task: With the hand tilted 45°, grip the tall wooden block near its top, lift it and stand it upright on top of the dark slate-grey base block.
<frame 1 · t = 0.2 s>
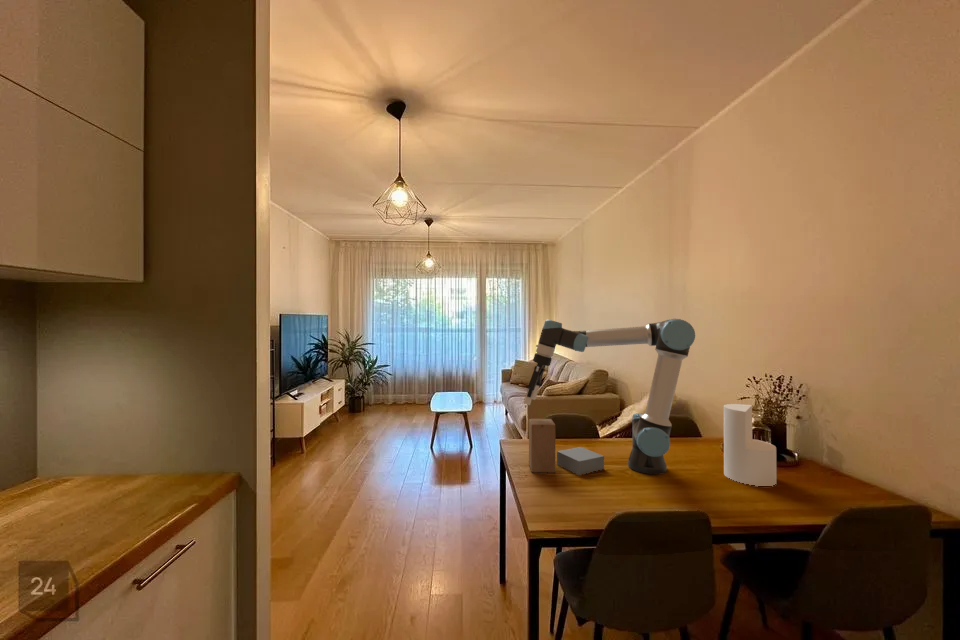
hand: (529, 401, 163), 28 cm above the table, tool tilted 15°, fingers open, 13 cm apart
slate base block: (580, 467, 162), on the table
wooden block: (541, 468, 160), on the table
white stepped column: (749, 478, 152), on the table
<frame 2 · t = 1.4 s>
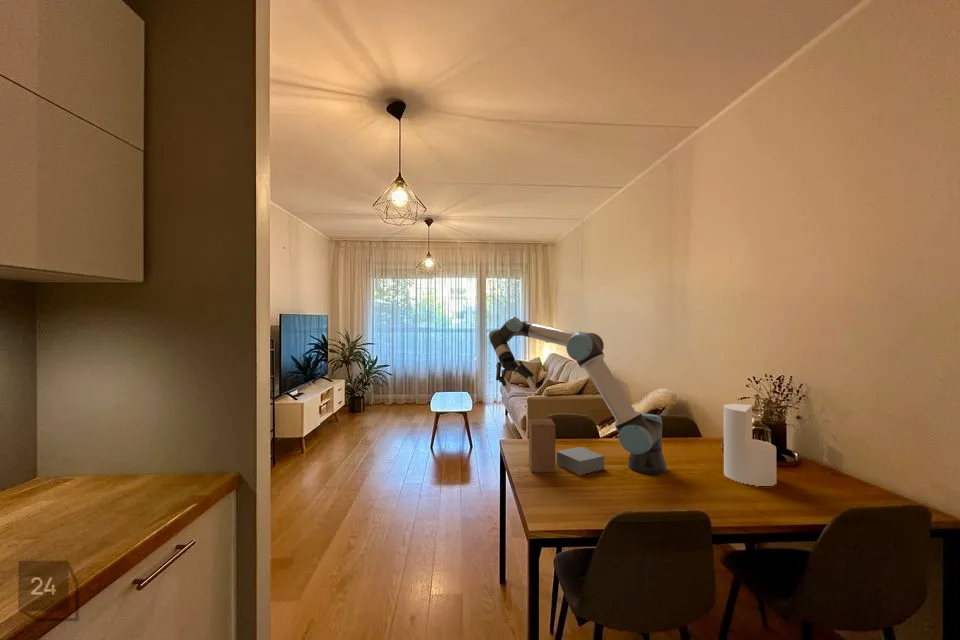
hand: (521, 390, 175), 31 cm above the table, tool tilted 45°, fingers open, 13 cm apart
nothing on the table moved.
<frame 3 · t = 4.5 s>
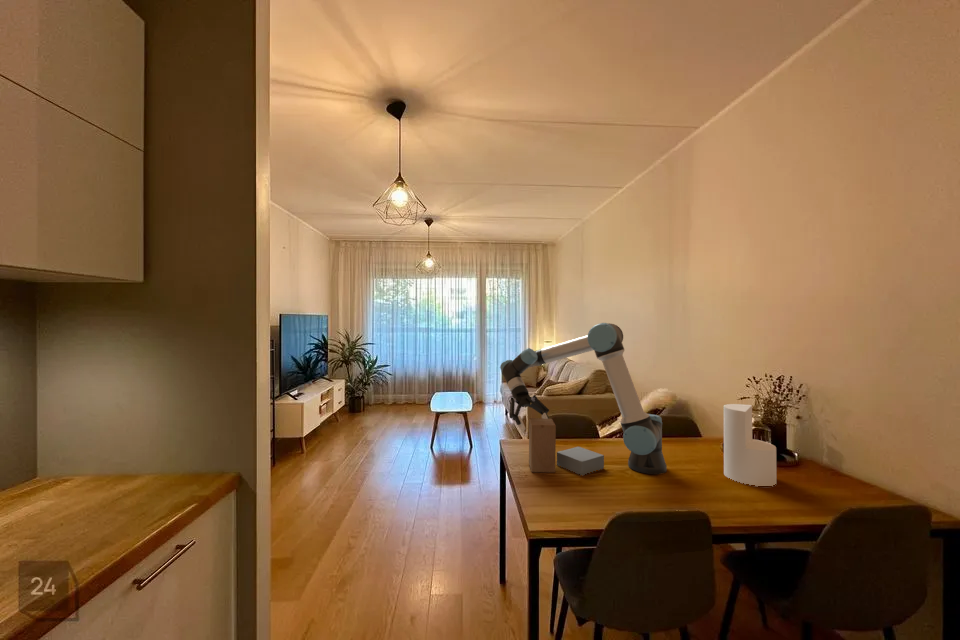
hand: (537, 429, 163), 16 cm above the table, tool tilted 45°, fingers open, 13 cm apart
wooden block: (541, 468, 160), on the table, touching gripper
everything else where it was.
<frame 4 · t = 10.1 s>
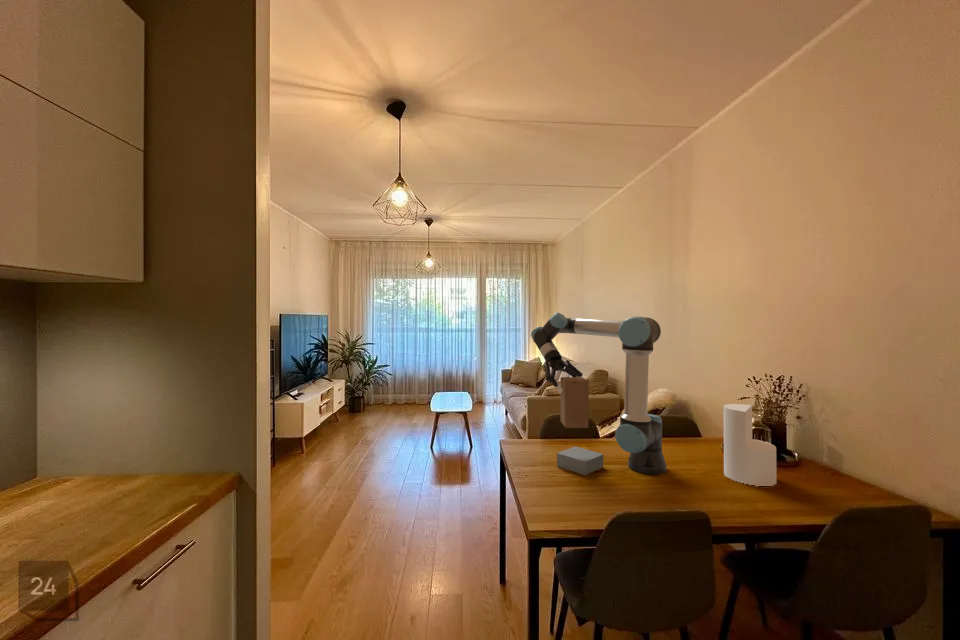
hand: (573, 391, 164), 33 cm above the table, tool tilted 45°, fingers closed on wooden block, 12 cm apart
wooden block: (574, 425, 163), point 18 cm above the table, touching gripper
when the fingers open (22 cm above the table, at t = 14.0 s): wooden block drops 2 cm, resting on slate base block.
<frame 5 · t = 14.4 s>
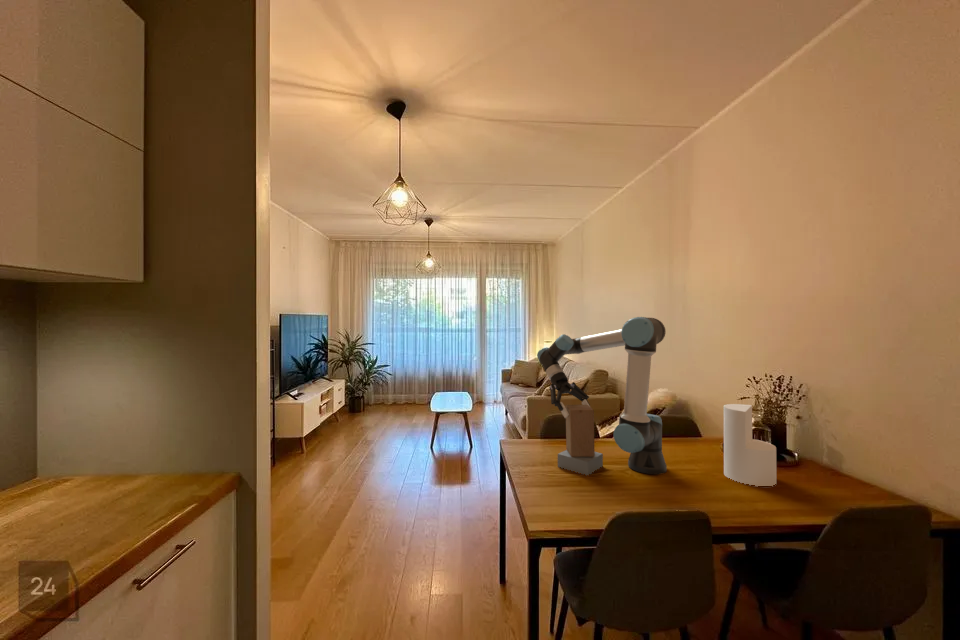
hand: (579, 414, 164), 22 cm above the table, tool tilted 45°, fingers open, 13 cm apart
slate base block: (580, 467, 163), on the table, touching wooden block
wooden block: (580, 453, 163), point 6 cm above the table, touching gripper, slate base block
everything else where it was.
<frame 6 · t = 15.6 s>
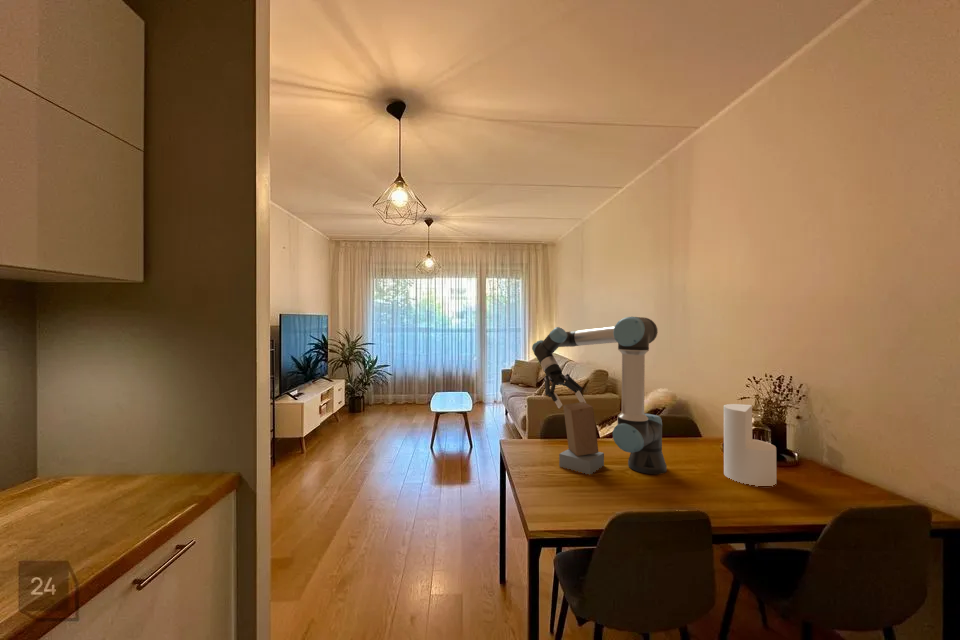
hand: (572, 405, 167), 26 cm above the table, tool tilted 45°, fingers open, 13 cm apart
wooden block: (583, 451, 164), point 6 cm above the table, touching slate base block
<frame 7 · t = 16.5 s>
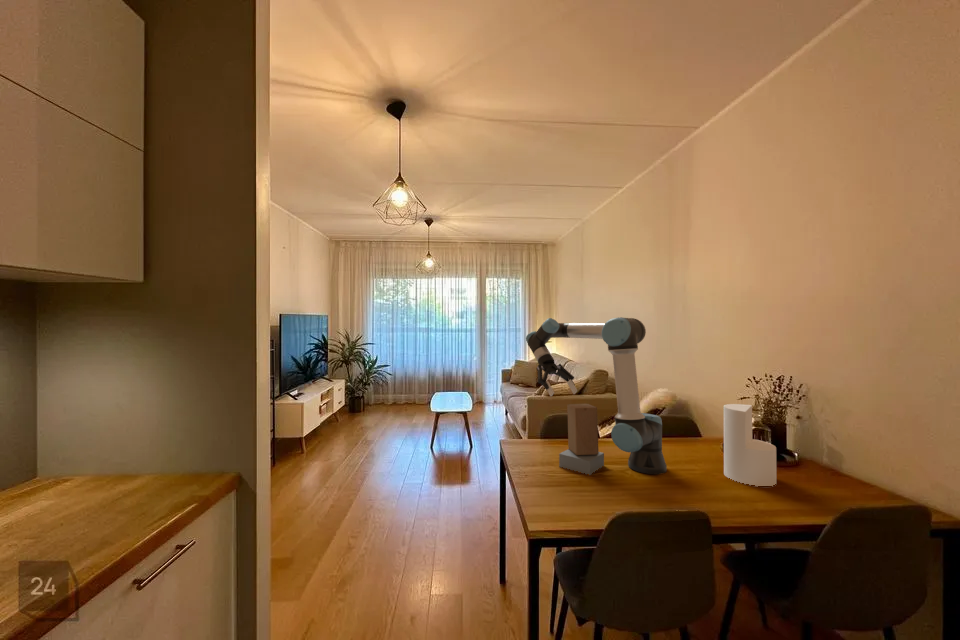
hand: (564, 393, 172), 30 cm above the table, tool tilted 45°, fingers open, 13 cm apart
slate base block: (581, 467, 163), on the table
wooden block: (583, 452, 164), point 6 cm above the table
everything else where it was.
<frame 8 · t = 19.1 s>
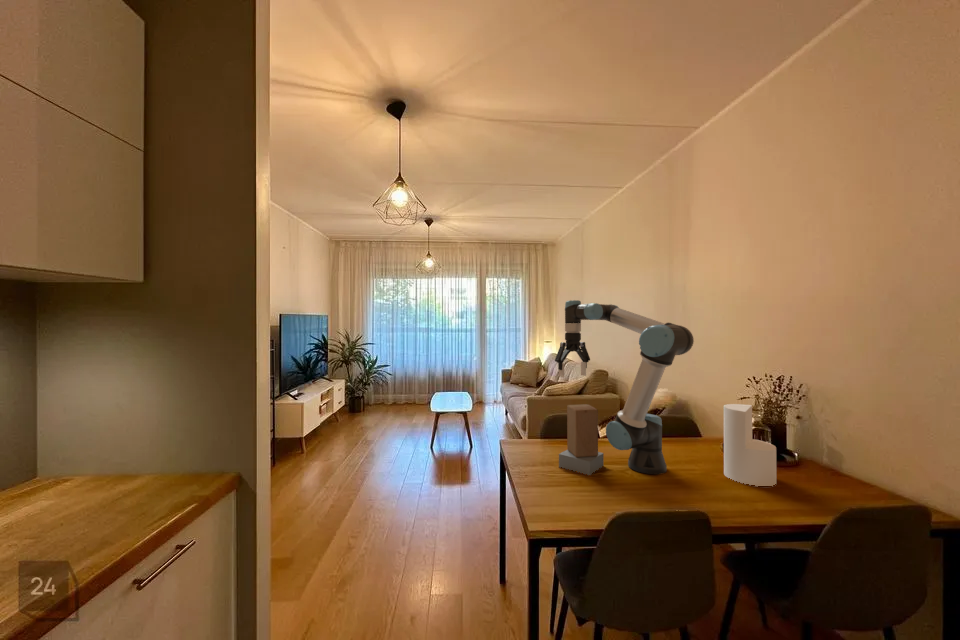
hand: (572, 376, 182), 37 cm above the table, tool pointing down, fingers open, 13 cm apart
slate base block: (581, 467, 163), on the table, touching wooden block
wooden block: (582, 453, 163), point 6 cm above the table, touching slate base block
everything else where it was.
at the end: wooden block inside the target area on the slate base block (0.6 cm from its centre), point 6.0 cm above the slate base block's base; wooden block tilted 2°; the gripper is holding nothing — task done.
